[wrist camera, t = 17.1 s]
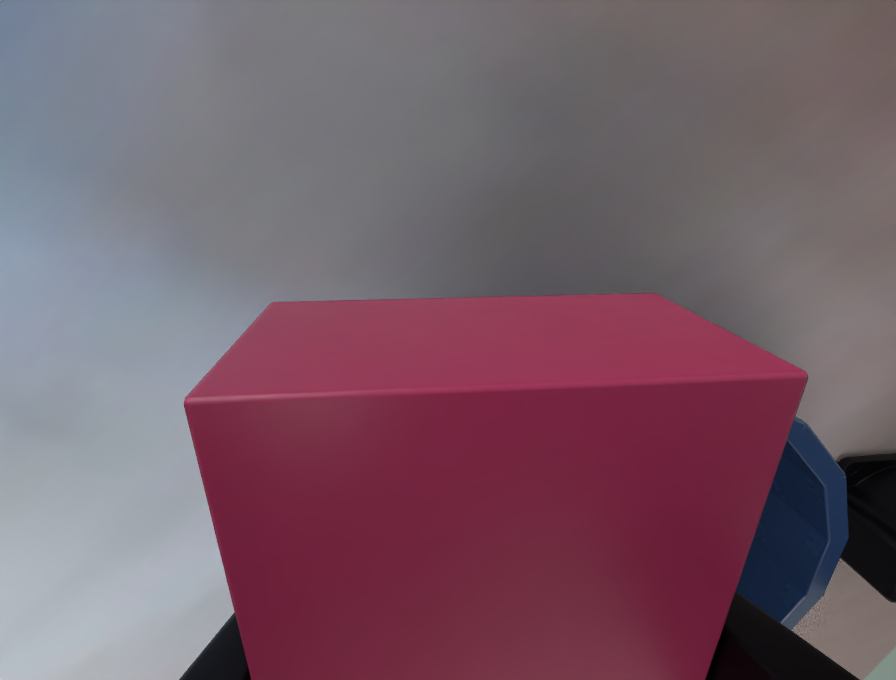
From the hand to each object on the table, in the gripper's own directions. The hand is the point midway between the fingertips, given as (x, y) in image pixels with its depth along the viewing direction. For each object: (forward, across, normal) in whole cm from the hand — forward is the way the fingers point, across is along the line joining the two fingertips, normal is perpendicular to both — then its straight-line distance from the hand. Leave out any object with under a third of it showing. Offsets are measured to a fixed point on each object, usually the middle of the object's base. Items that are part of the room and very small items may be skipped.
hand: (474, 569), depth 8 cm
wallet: (+1, 0, 0) cm, 1 cm away
